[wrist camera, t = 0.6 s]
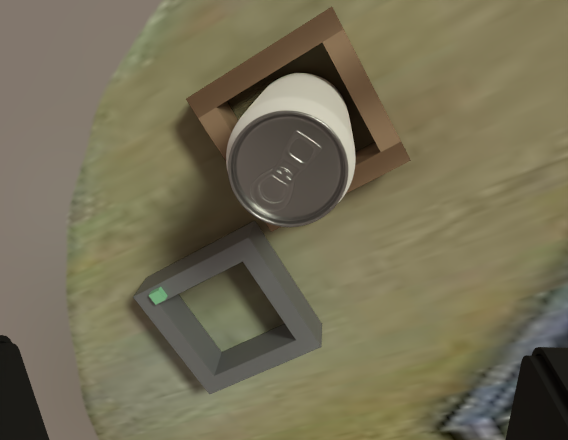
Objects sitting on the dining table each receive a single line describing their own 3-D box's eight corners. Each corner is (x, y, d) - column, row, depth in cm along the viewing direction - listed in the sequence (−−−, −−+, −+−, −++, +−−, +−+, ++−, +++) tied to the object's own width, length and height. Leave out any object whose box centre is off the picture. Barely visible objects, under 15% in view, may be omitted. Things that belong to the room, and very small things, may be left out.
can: (237, 132, 34) (193, 187, 23) (288, 51, 32) (266, 70, 21) (312, 182, 35) (305, 259, 24) (368, 108, 33) (387, 155, 22)
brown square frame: (404, 148, 34) (410, 160, 31) (275, 215, 37) (271, 231, 34) (331, 7, 31) (331, 6, 28) (197, 92, 33) (185, 98, 31)
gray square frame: (321, 323, 40) (321, 351, 37) (217, 369, 43) (207, 399, 39) (254, 220, 37) (247, 241, 34) (146, 277, 40) (130, 301, 36)
